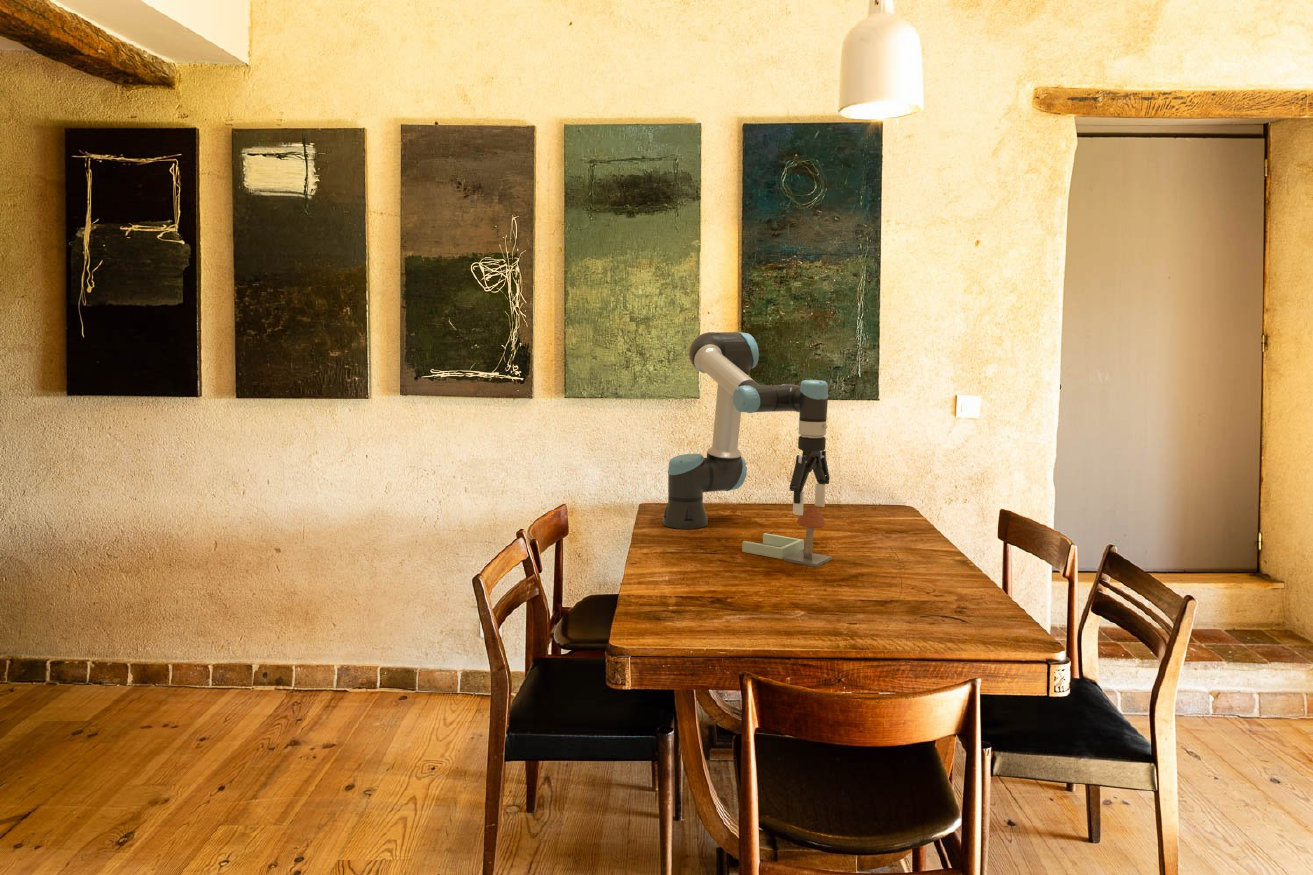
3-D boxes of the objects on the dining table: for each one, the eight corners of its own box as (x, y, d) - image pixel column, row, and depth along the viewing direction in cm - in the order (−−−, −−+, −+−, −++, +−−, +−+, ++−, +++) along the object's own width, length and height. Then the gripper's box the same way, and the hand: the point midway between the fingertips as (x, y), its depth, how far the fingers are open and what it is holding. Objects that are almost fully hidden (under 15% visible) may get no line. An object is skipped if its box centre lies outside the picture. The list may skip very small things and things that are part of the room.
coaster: (784, 560, 233) (784, 558, 233) (800, 553, 241) (800, 550, 241) (816, 566, 227) (816, 564, 227) (832, 559, 235) (832, 556, 235)
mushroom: (818, 562, 229) (821, 510, 226) (790, 557, 232) (794, 506, 230) (826, 556, 236) (830, 504, 233) (799, 551, 239) (803, 501, 237)
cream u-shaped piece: (742, 551, 242) (742, 541, 242) (764, 542, 253) (765, 533, 253) (782, 559, 235) (782, 548, 234) (803, 549, 245) (804, 539, 245)
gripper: (803, 442, 217) (800, 520, 220) (843, 432, 237) (839, 504, 240) (778, 439, 222) (775, 516, 225) (819, 430, 241) (816, 501, 244)
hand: (808, 510), depth 232 cm, fingers open, 13 cm apart
